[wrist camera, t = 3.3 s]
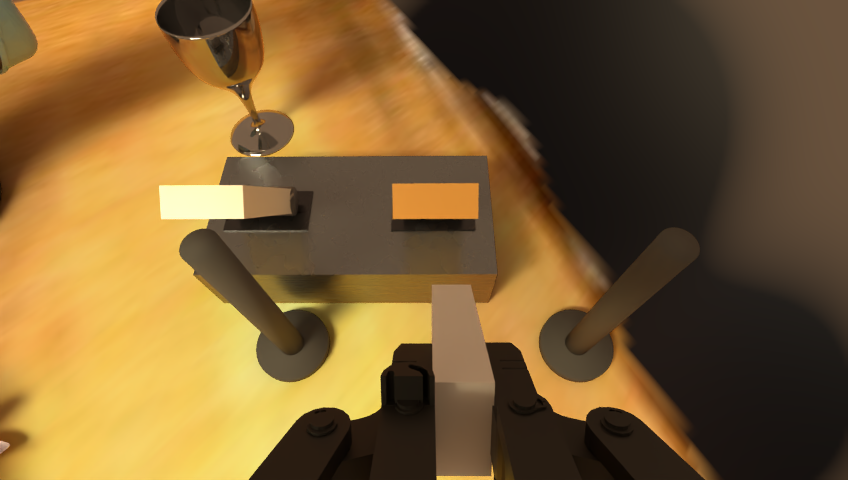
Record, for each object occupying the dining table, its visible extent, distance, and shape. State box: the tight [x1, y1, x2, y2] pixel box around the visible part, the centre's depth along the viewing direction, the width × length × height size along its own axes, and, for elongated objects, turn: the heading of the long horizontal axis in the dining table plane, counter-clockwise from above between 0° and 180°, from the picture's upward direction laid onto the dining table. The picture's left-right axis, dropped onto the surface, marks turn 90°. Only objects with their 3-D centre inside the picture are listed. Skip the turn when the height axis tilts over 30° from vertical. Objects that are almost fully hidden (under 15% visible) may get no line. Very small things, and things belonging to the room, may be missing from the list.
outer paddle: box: [392, 183, 479, 219], centre depth 32 cm, size 2×5×11 cm
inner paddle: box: [159, 185, 298, 219], centre depth 32 cm, size 2×5×11 cm
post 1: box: [179, 229, 330, 382], centre depth 30 cm, size 6×6×18 cm
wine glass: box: [155, 0, 294, 157], centre depth 43 cm, size 8×8×15 cm
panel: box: [193, 156, 497, 303], centre depth 40 cm, size 12×24×6 cm, turn 90°
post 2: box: [539, 227, 700, 382], centre depth 30 cm, size 6×6×18 cm
